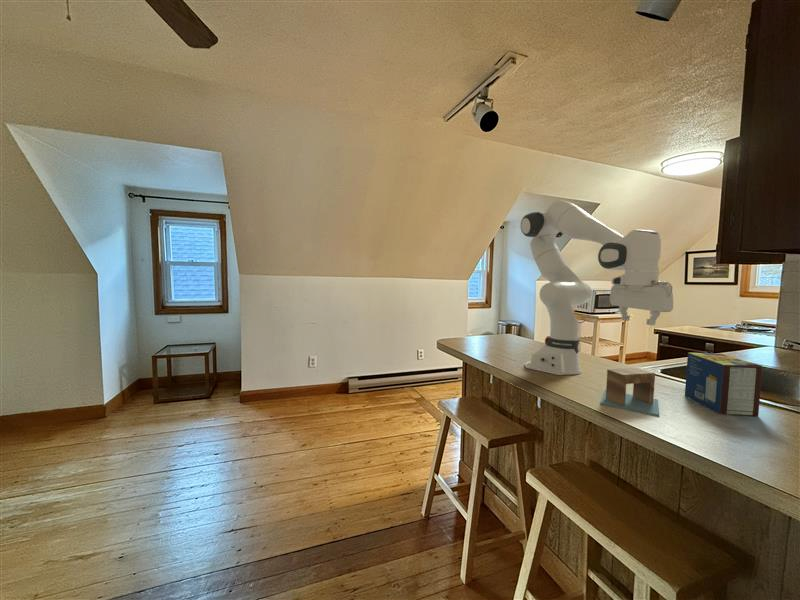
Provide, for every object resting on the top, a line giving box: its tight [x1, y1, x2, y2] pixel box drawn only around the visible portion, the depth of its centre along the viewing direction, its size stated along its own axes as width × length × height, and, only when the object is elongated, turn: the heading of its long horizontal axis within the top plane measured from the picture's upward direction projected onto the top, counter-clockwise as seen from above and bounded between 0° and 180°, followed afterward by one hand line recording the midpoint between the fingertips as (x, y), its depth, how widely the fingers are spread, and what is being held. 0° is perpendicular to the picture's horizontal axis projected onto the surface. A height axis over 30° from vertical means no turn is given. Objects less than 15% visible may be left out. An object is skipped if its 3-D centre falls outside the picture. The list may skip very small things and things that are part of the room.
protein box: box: [684, 352, 763, 417], centre depth 105 cm, size 10×15×16 cm
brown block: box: [605, 367, 656, 406], centre depth 107 cm, size 10×6×12 cm
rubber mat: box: [599, 389, 660, 418], centre depth 107 cm, size 15×15×1 cm
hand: (637, 322), depth 107 cm, fingers open, 8 cm apart
